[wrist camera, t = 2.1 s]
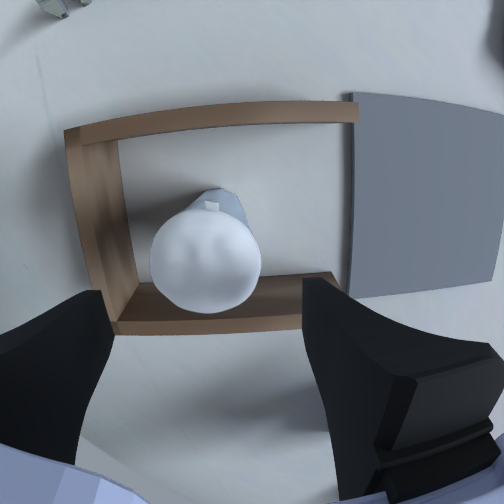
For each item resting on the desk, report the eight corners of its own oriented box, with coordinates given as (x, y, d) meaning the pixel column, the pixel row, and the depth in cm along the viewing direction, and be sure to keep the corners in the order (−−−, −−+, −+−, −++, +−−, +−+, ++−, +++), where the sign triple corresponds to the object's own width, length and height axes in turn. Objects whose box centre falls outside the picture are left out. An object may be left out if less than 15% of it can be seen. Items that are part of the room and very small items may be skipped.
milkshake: (264, 172, 20) (283, 214, 10) (246, 252, 22) (248, 348, 12) (191, 158, 19) (143, 188, 10) (178, 239, 21) (133, 326, 12)
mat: (488, 277, 23) (491, 280, 22) (346, 295, 23) (348, 299, 22) (505, 116, 18) (509, 116, 17) (349, 93, 18) (352, 92, 17)
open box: (330, 284, 23) (350, 323, 18) (129, 295, 23) (106, 334, 18) (331, 107, 18) (358, 102, 14) (101, 127, 18) (63, 130, 14)
